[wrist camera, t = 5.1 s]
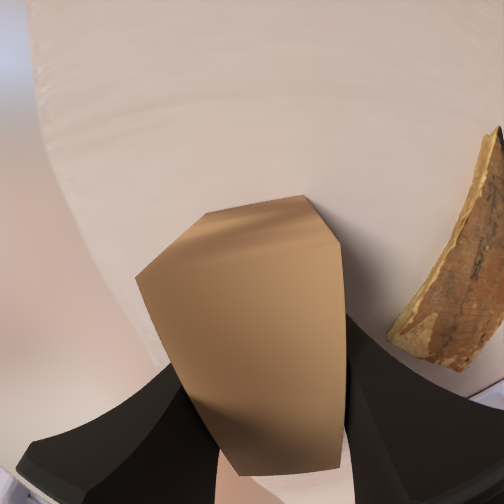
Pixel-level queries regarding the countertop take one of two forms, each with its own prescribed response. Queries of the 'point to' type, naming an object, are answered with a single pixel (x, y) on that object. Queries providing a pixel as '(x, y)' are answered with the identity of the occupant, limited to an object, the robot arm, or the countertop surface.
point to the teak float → (258, 332)
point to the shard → (463, 276)
